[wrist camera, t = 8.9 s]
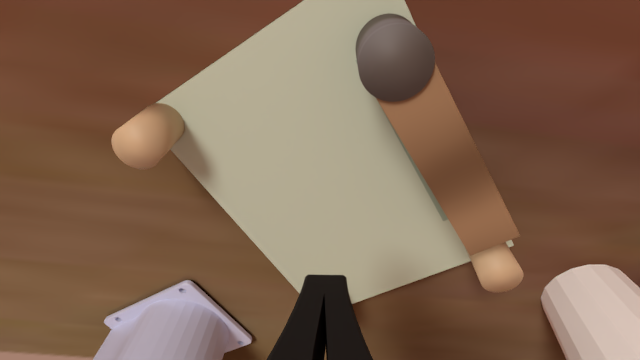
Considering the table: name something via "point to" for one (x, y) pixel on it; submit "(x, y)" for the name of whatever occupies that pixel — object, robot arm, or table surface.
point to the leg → (432, 129)
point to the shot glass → (594, 313)
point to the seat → (310, 157)
